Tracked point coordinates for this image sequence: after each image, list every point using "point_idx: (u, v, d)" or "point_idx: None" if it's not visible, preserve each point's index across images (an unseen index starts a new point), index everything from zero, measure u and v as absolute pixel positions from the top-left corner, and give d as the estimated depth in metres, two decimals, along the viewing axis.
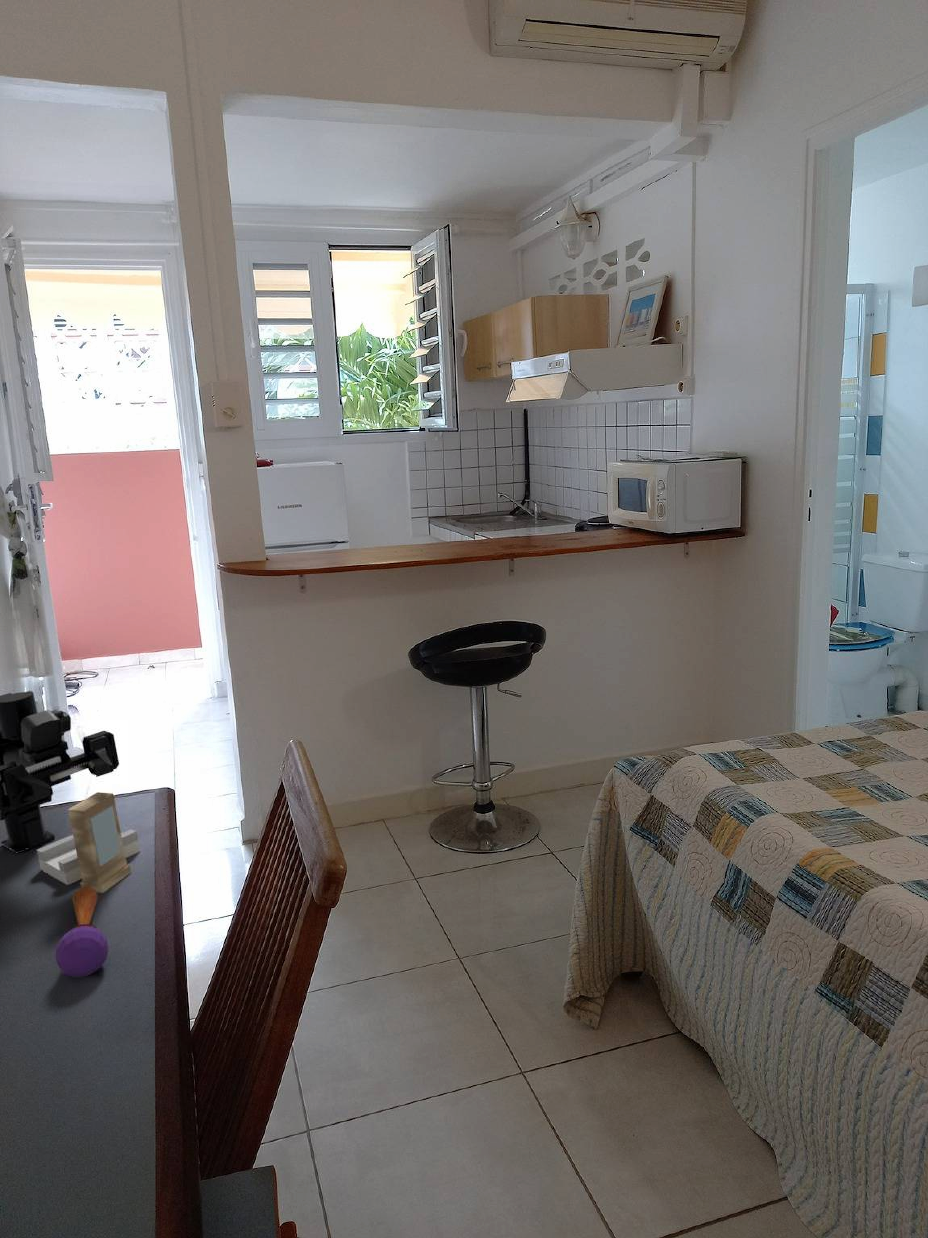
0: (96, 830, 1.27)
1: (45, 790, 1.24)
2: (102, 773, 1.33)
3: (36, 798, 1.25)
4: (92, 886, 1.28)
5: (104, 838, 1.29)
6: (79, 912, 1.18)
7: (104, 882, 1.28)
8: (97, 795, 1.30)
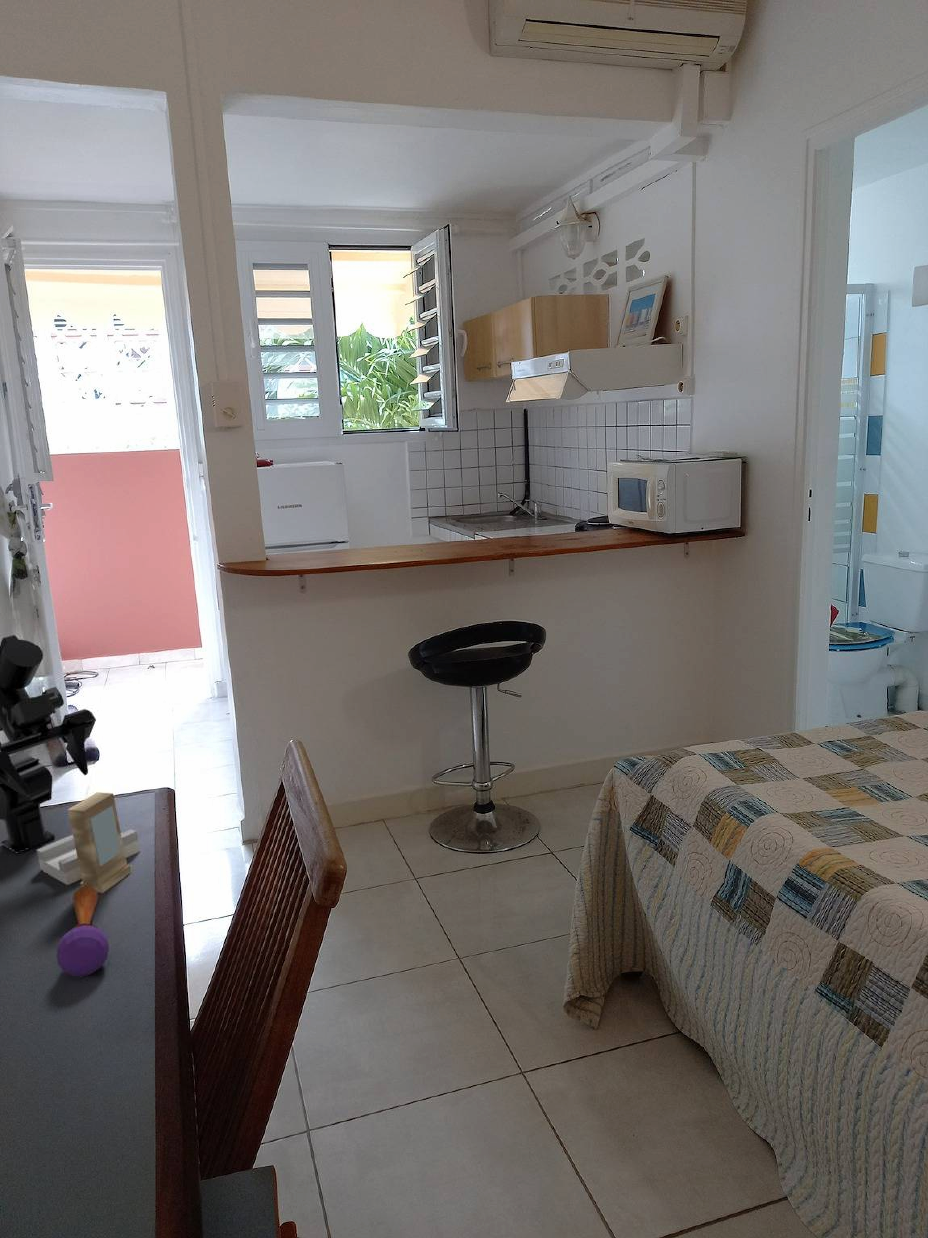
0: (96, 830, 1.27)
1: (22, 791, 1.31)
2: (74, 760, 1.40)
3: (10, 786, 1.32)
4: (92, 886, 1.28)
5: (104, 838, 1.29)
6: (79, 912, 1.18)
7: (104, 882, 1.28)
8: (97, 795, 1.30)
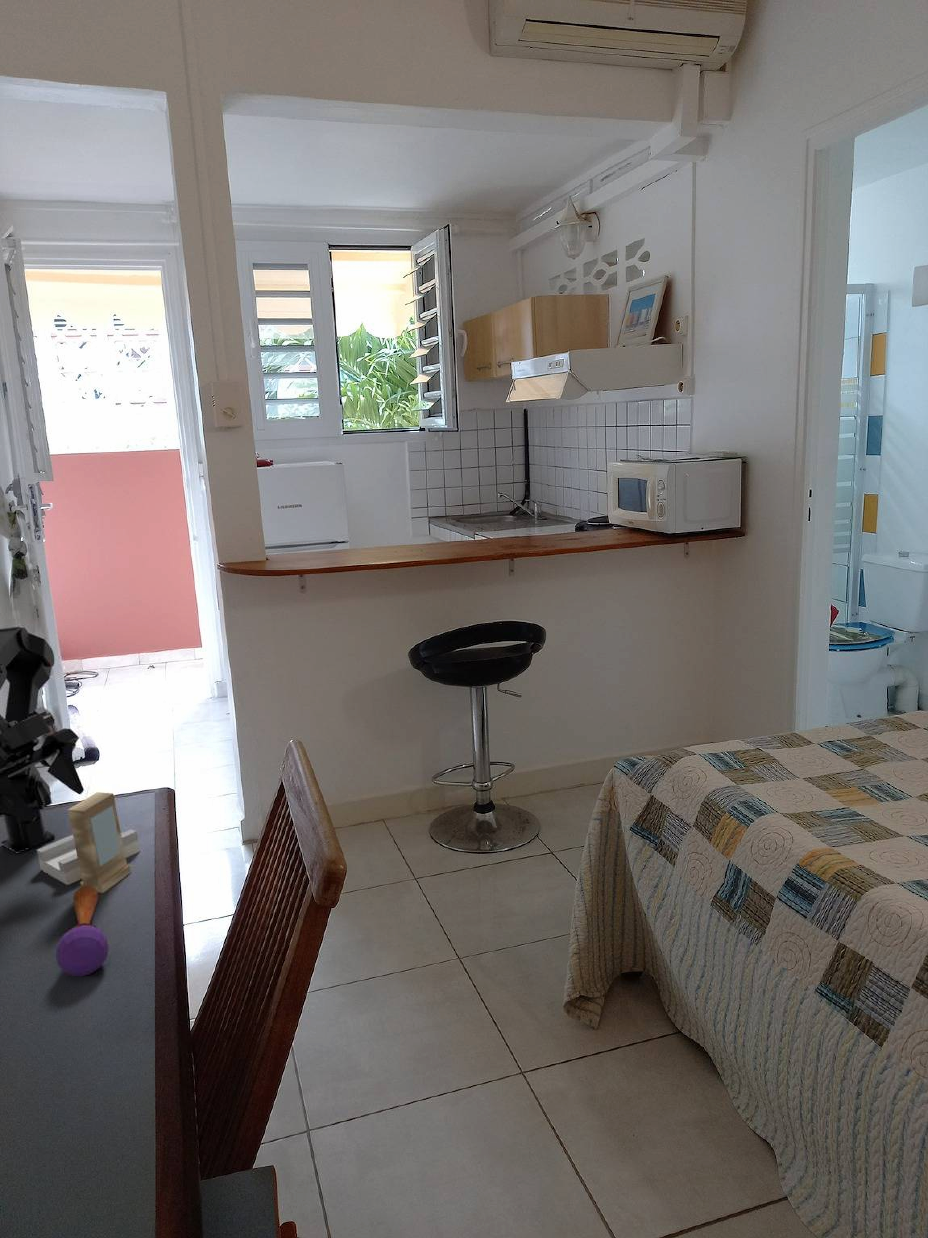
0: (96, 830, 1.27)
1: (28, 815, 1.26)
2: (62, 781, 1.36)
3: (11, 813, 1.26)
4: (92, 886, 1.28)
5: (104, 838, 1.29)
6: (79, 912, 1.18)
7: (104, 882, 1.28)
8: (97, 795, 1.30)
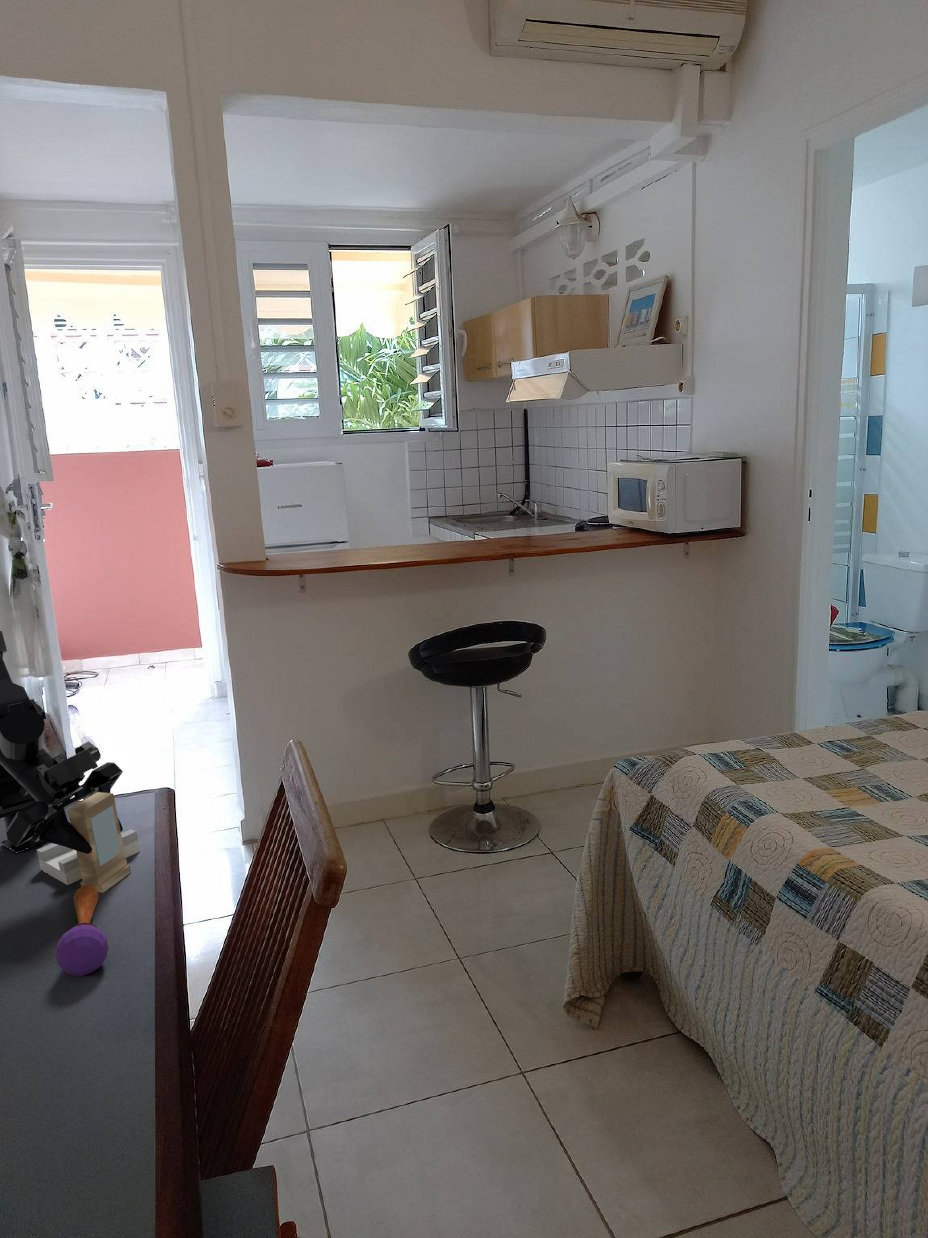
0: (96, 830, 1.27)
1: (84, 848, 1.26)
2: None
3: (67, 846, 1.26)
4: (92, 886, 1.28)
5: (104, 838, 1.29)
6: (80, 911, 1.18)
7: (104, 882, 1.28)
8: (97, 795, 1.30)
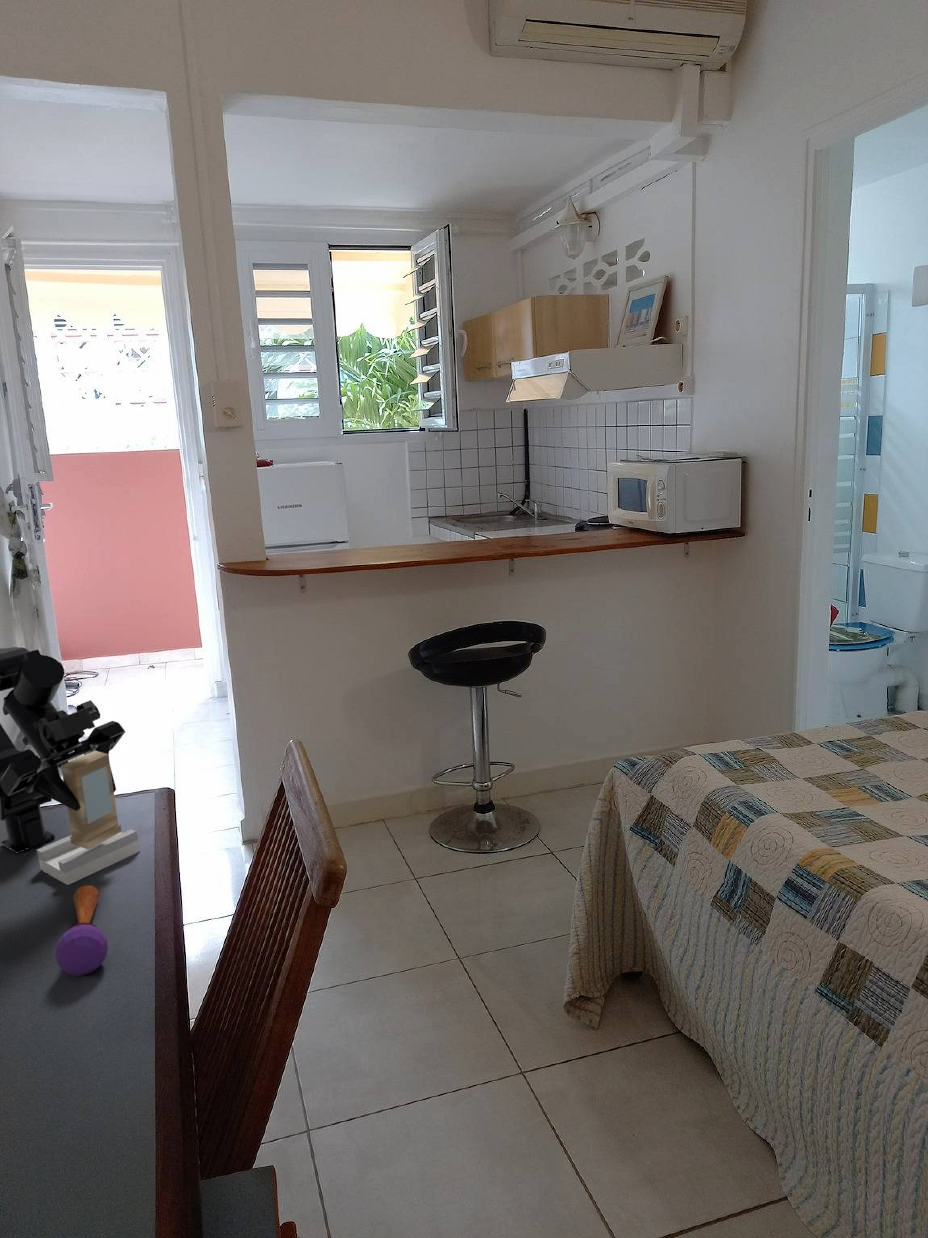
0: (87, 789, 1.29)
1: (73, 805, 1.29)
2: None
3: (58, 800, 1.29)
4: (80, 841, 1.31)
5: (95, 797, 1.31)
6: (80, 911, 1.18)
7: (91, 839, 1.31)
8: (94, 754, 1.33)
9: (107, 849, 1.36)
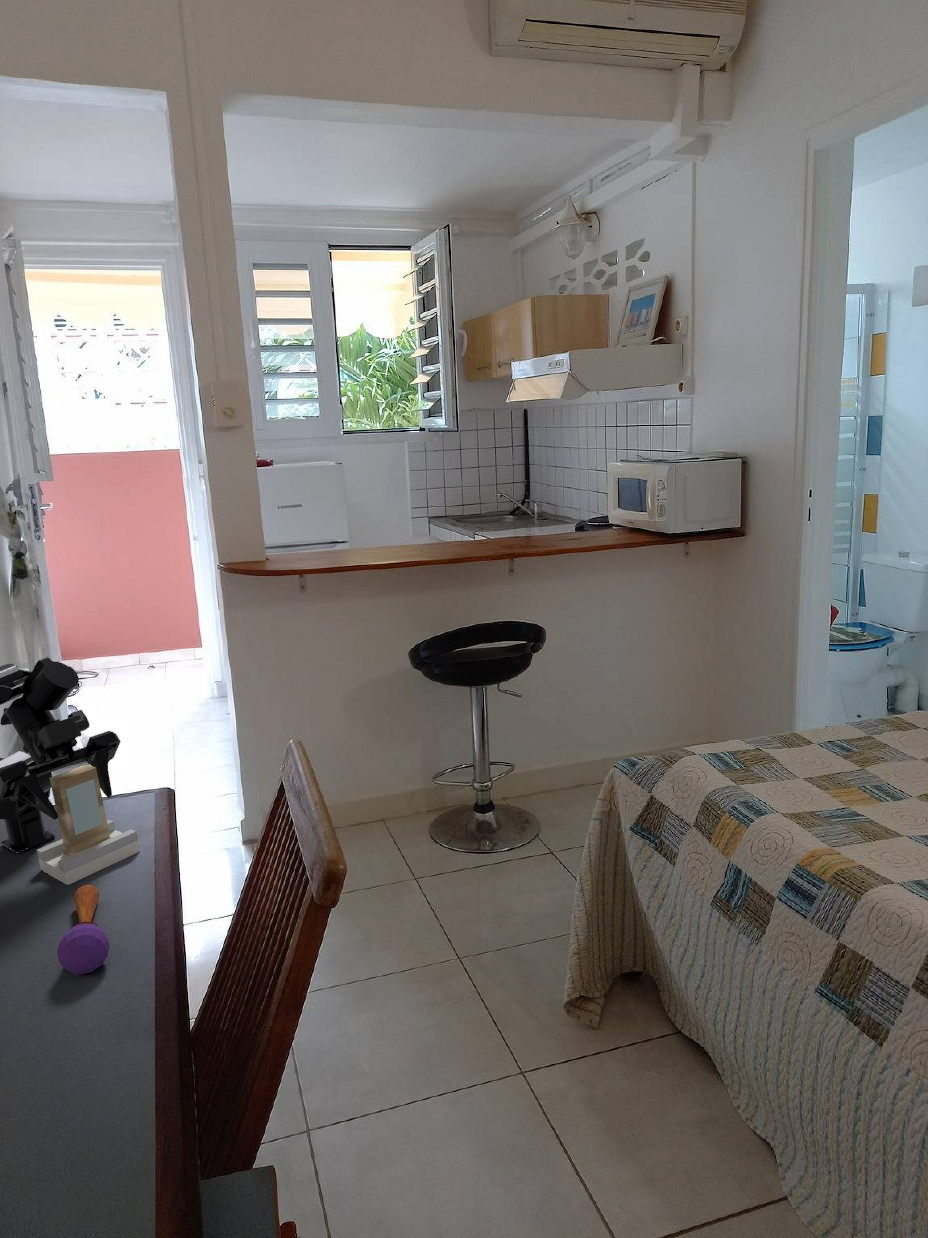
0: (72, 801, 1.34)
1: (51, 814, 1.32)
2: None
3: (39, 809, 1.33)
4: (69, 852, 1.35)
5: (82, 809, 1.35)
6: (81, 910, 1.18)
7: (79, 850, 1.35)
8: (84, 767, 1.37)
9: (107, 849, 1.36)
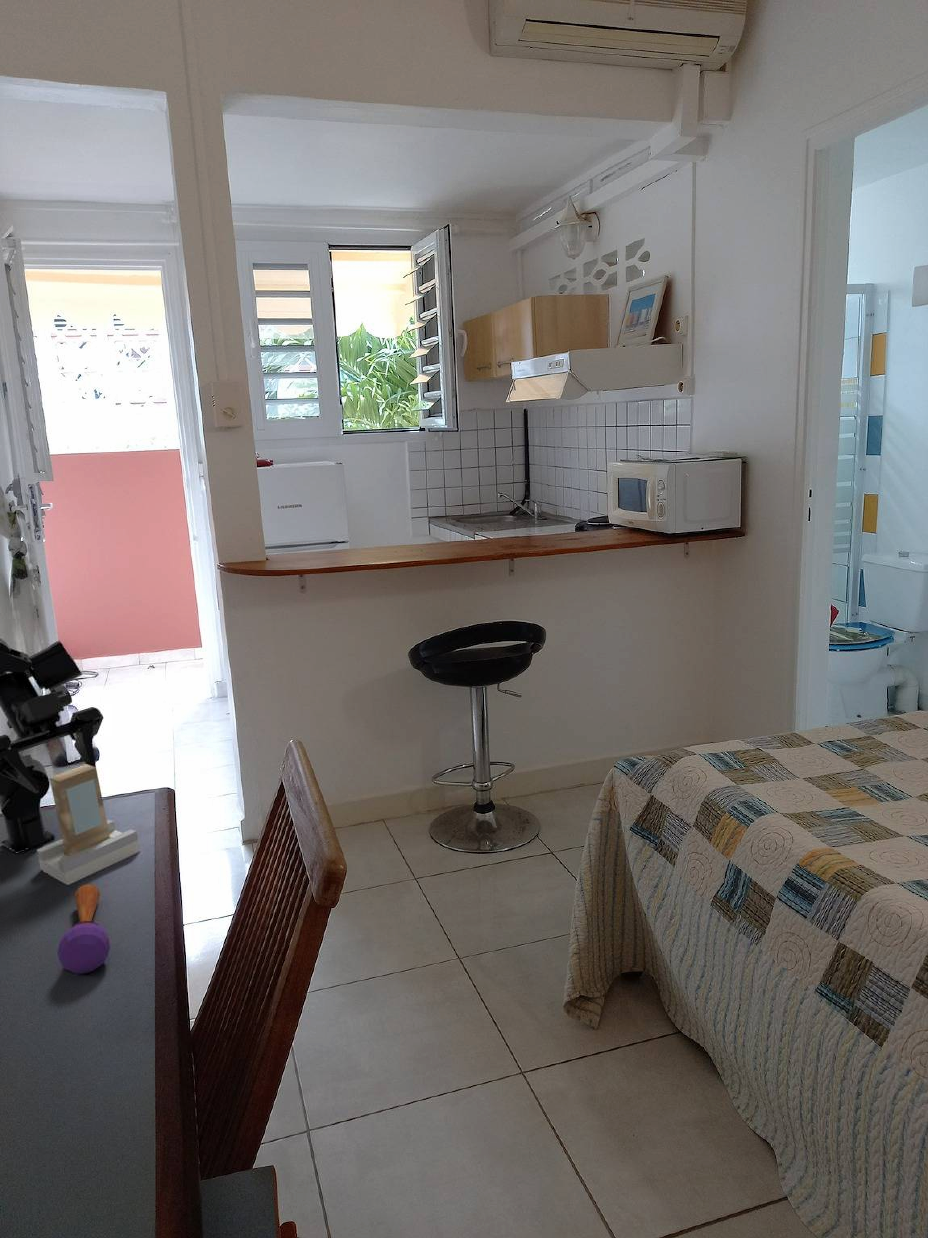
0: (72, 801, 1.34)
1: (32, 787, 1.34)
2: (82, 757, 1.43)
3: (20, 783, 1.35)
4: (69, 852, 1.35)
5: (82, 809, 1.35)
6: (81, 909, 1.18)
7: (79, 850, 1.35)
8: (84, 767, 1.37)
9: (107, 849, 1.36)
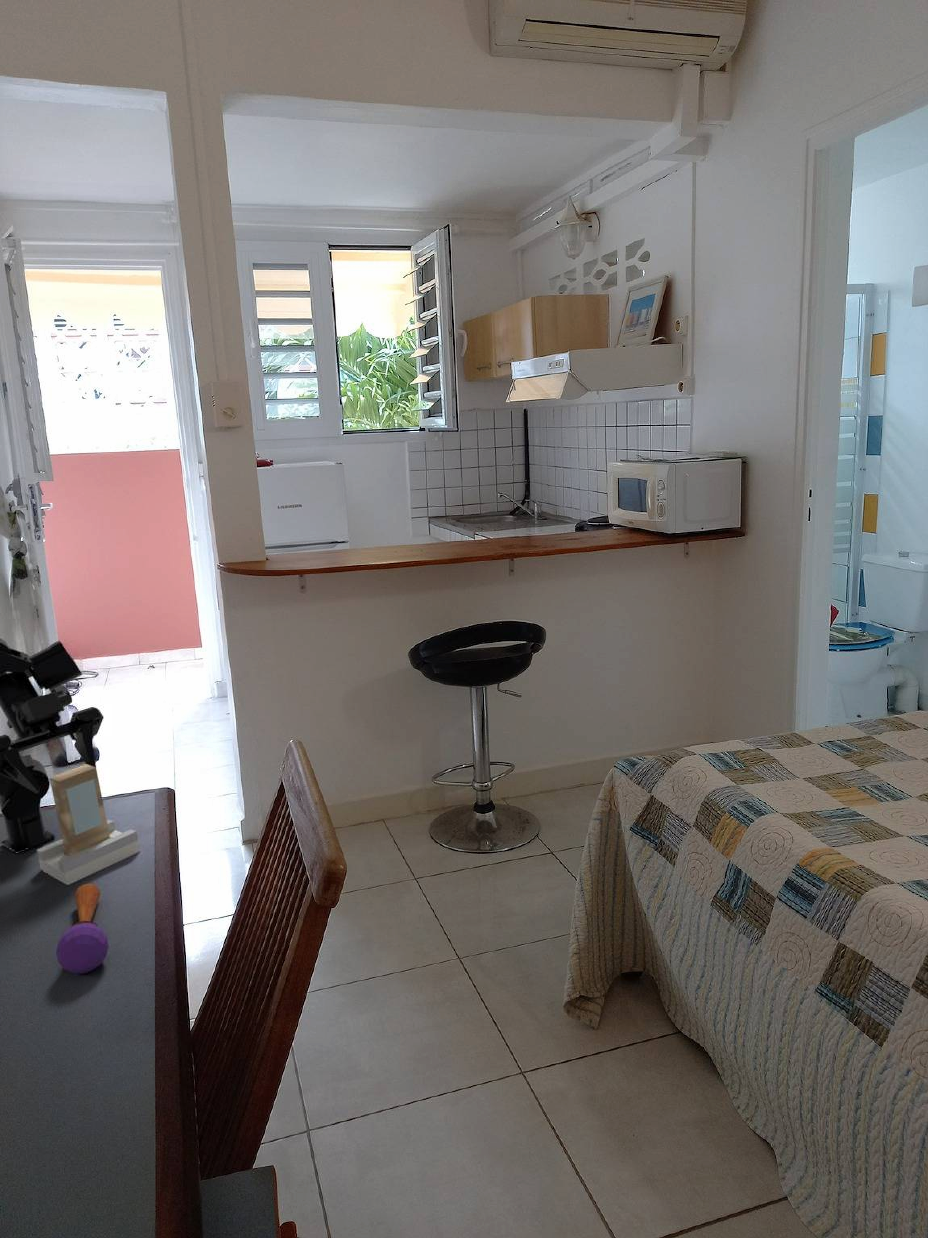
0: (72, 801, 1.34)
1: (32, 787, 1.34)
2: (82, 757, 1.43)
3: (20, 783, 1.35)
4: (69, 852, 1.35)
5: (82, 809, 1.35)
6: (81, 909, 1.18)
7: (79, 850, 1.35)
8: (84, 767, 1.37)
9: (107, 849, 1.36)
